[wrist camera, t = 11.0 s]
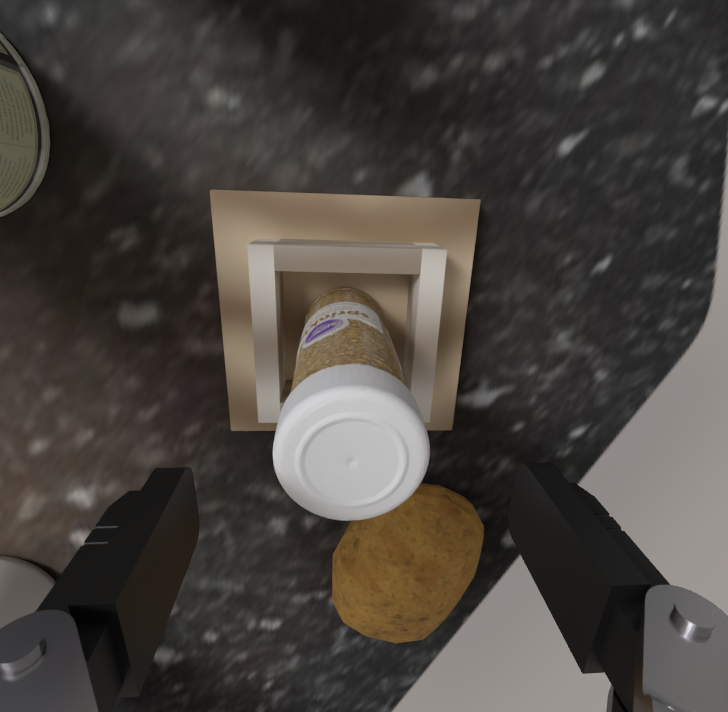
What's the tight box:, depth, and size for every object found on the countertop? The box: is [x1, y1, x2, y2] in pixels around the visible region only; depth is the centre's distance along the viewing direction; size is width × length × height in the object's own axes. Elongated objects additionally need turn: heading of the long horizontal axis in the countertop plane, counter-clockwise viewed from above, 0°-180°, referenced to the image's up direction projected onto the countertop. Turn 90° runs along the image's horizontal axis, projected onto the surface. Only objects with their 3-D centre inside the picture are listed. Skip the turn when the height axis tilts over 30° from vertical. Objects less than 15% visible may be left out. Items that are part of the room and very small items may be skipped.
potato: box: [332, 483, 484, 643], centre depth 29 cm, size 9×13×7 cm
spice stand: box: [210, 190, 481, 431], centre depth 24 cm, size 14×14×4 cm
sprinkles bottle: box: [273, 287, 430, 521], centre depth 18 cm, size 5×4×13 cm
